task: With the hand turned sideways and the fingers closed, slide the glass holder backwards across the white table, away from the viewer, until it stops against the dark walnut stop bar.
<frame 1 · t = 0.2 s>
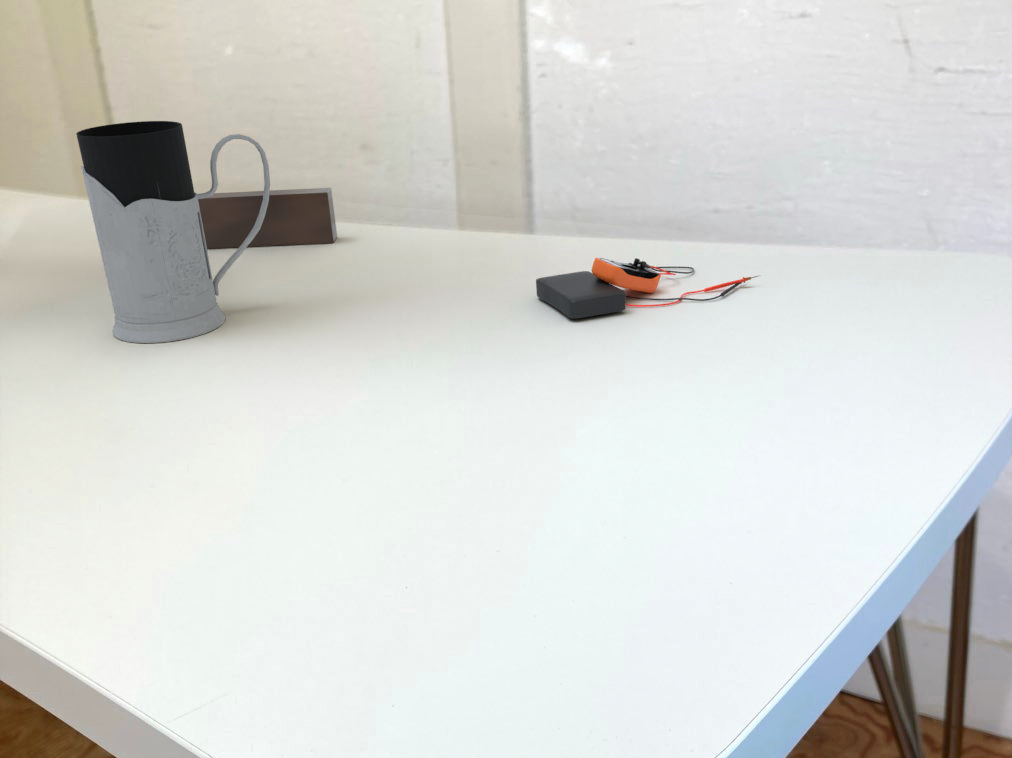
stop bar: (267, 243, 108), on the table
glass holder: (204, 321, 86), on the table
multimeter: (643, 290, 88), on the table
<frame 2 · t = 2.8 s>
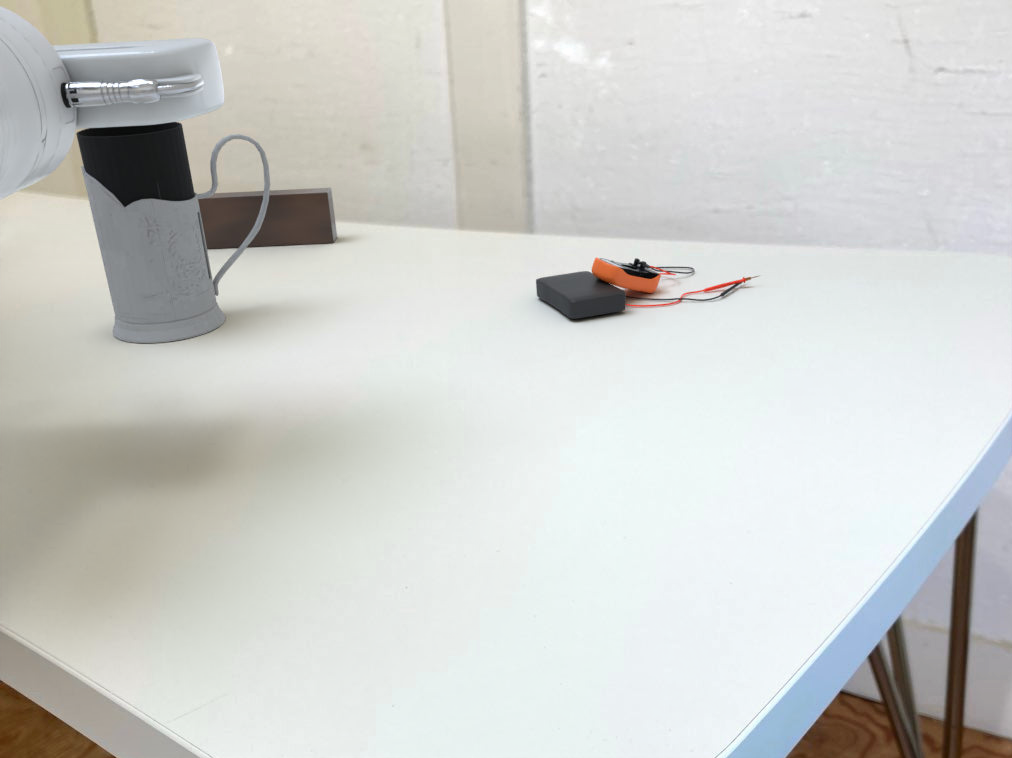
hand: (77, 72, 64), 20 cm above the table, tool horizontal, fingers open, 6 cm apart
nothing on the table moved.
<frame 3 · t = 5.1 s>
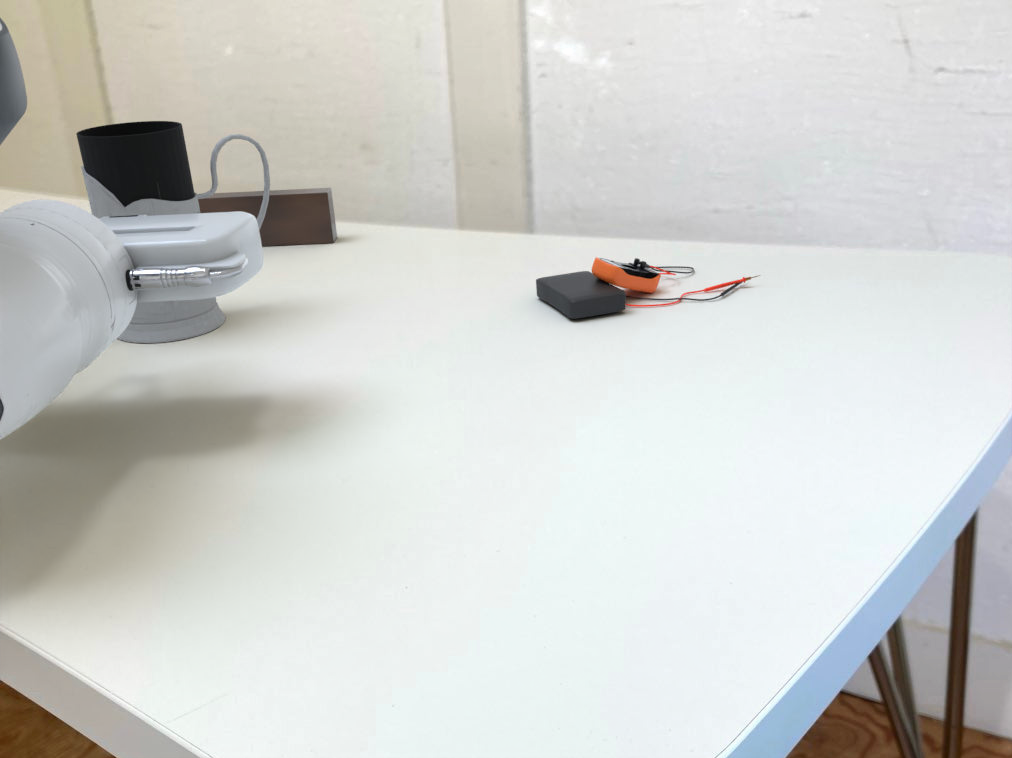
hand: (129, 227, 71), 10 cm above the table, tool horizontal, fingers closed
nothing on the table moved.
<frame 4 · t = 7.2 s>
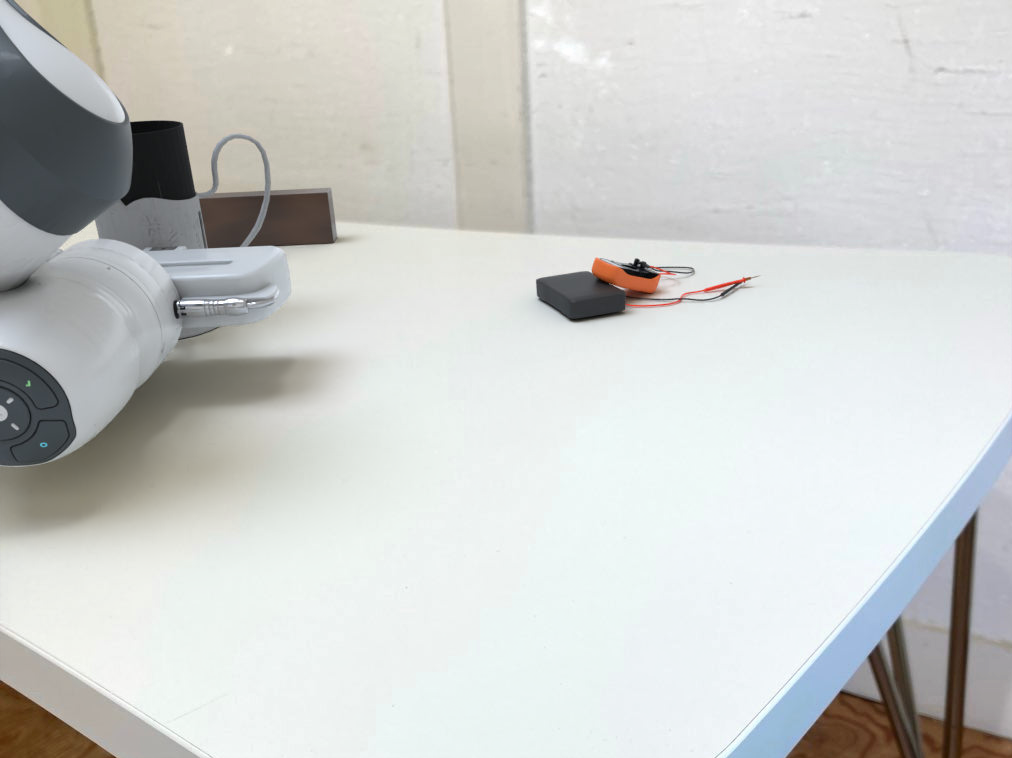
hand: (169, 257, 79), 6 cm above the table, tool horizontal, fingers closed
glass holder: (204, 320, 87), on the table, touching gripper
everything else where it was.
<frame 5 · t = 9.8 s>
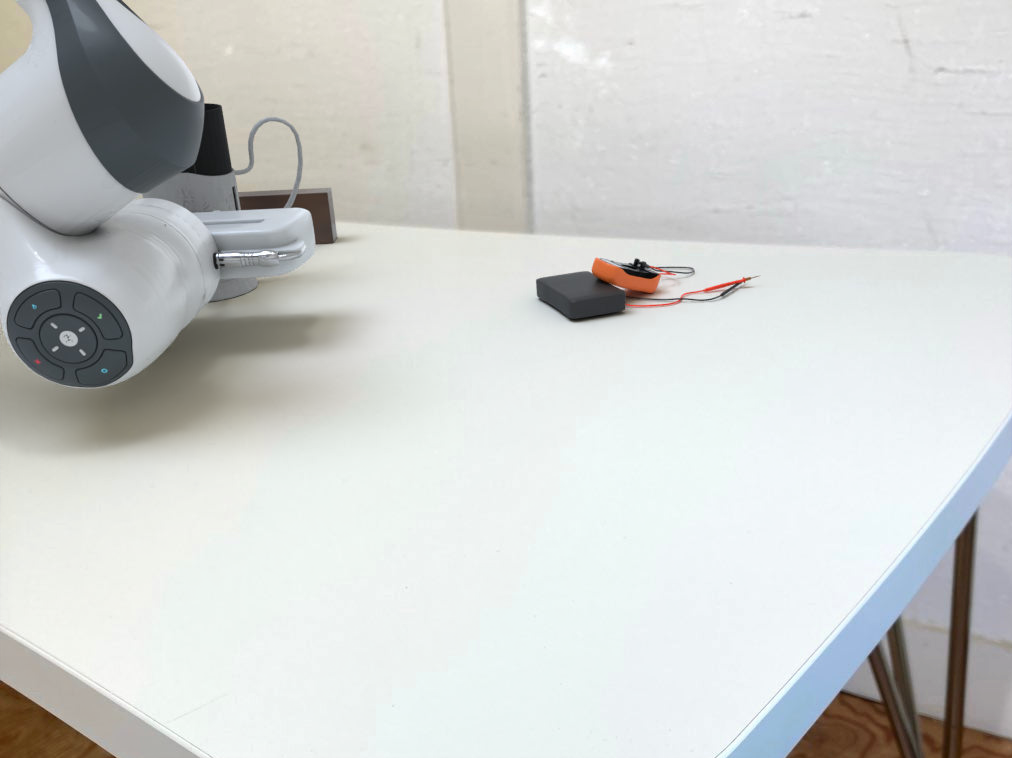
hand: (204, 220, 88), 7 cm above the table, tool horizontal, fingers closed
glass holder: (239, 286, 95), on the table, touching gripper
everything else where it was.
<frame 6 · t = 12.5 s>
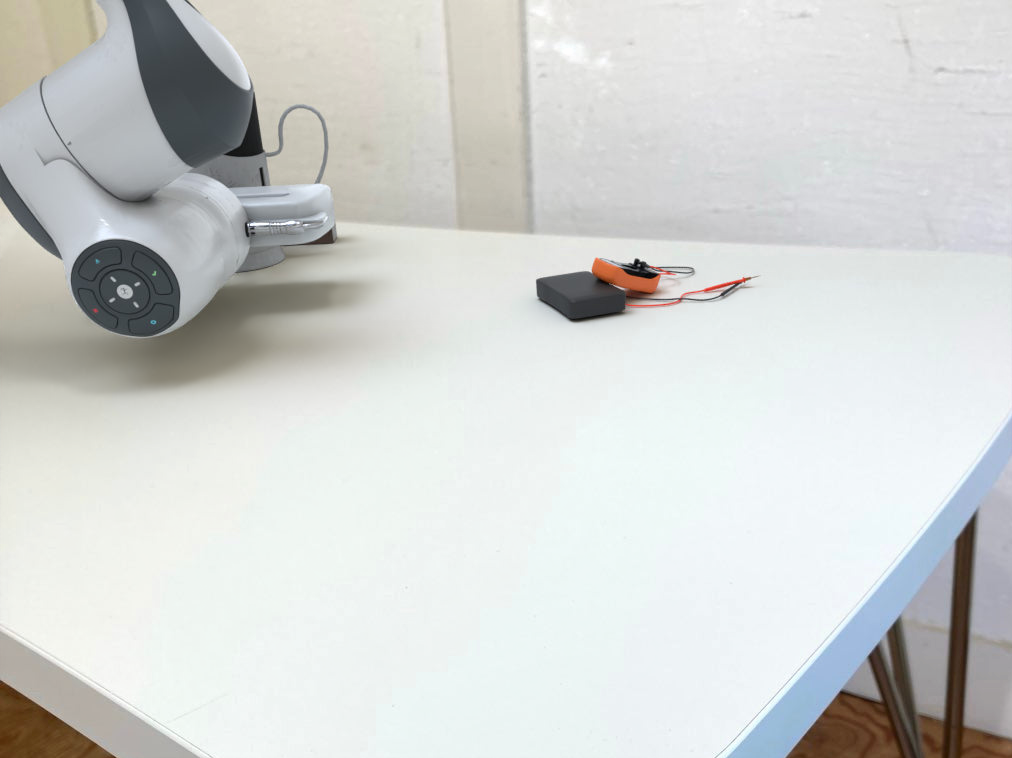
hand: (232, 197, 96), 7 cm above the table, tool horizontal, fingers closed
glass holder: (268, 260, 103), on the table, touching gripper
everything else where it was.
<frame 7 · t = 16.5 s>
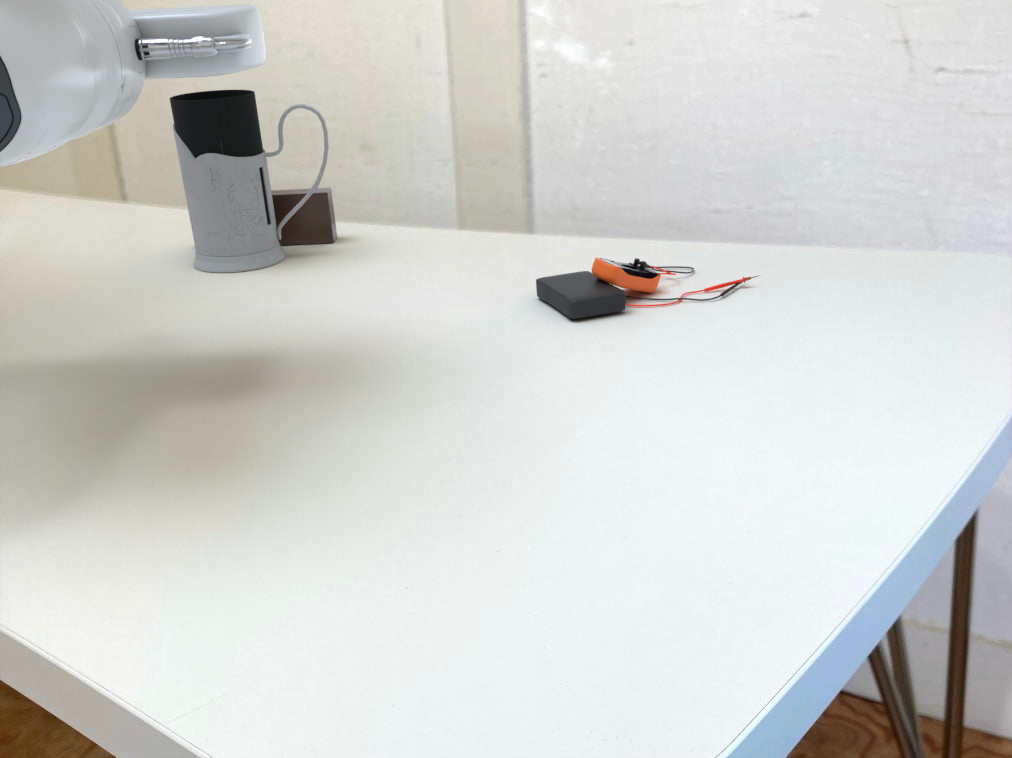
hand: (136, 35, 74), 21 cm above the table, tool horizontal, fingers closed
glass holder: (268, 260, 103), on the table
everything else where it was.
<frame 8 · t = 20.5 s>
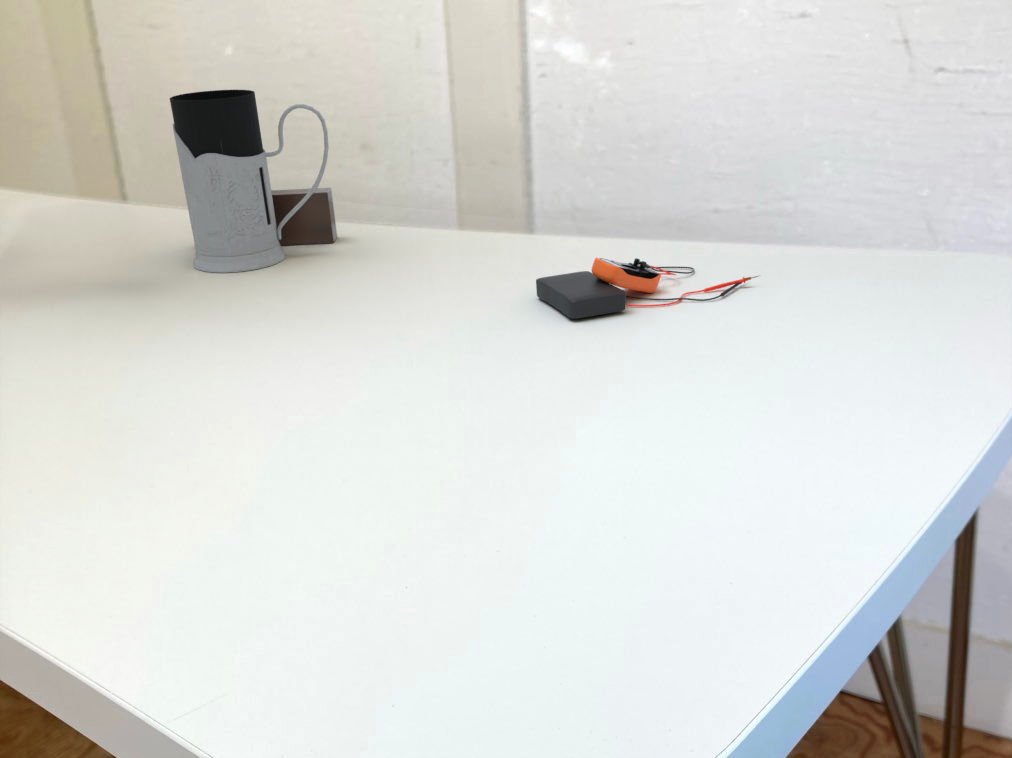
nothing on the table moved.
at the end: glass holder inside the target area on the table beside the stop bar (1.4 cm from its centre), on the table; glass holder moved 18.9 cm from its start; glass holder tilted 0° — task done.
